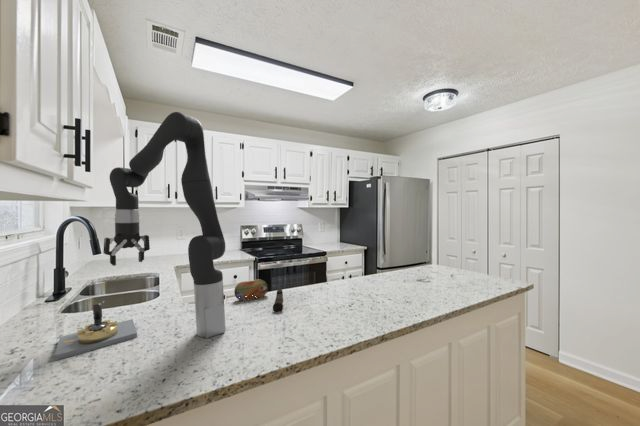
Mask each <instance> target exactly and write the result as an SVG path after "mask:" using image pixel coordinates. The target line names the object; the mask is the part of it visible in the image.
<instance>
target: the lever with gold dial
mask: <svg viewBox="0 0 640 426" xmlns="http://www.w3.org/2000/svg"><path fill="white" fill-rule="evenodd" d="M102 305H103V304H102V302H97V303H94V304H92V313H93V316H92V317H93V320H94V321H93V323H90V324H87V325H85V326H84V329H83V328H82V329H78V330H77V332H76V333H78V342H79V343H80V344H90V343H95V342H99V341H102V340H105V339H108V338H110V337H112V336H114V335H115V334H116V333H117V323H118V321H117V320H115V321H111V320H110V319H108V320H106V319H105V320H102V318H103V308H102V307H103V306H102Z"/></svg>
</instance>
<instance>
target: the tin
mask: <svg viewBox="0 0 640 426" xmlns="http://www.w3.org/2000/svg"><path fill="white" fill-rule="evenodd" d="M268 288H269V286H268V284H267V282H266V281H265V280H264V279H260V278H259V279H258V278H257V279H253V280H246V281H241V282H239V283H237V284H236V286H235V287H234V292H233V294H234V296H235V298H236V299H237V300H238V301H240V302H243V301H242V300H246V301H249V300H248V299H251V300H254V299H255V298H256V297H258V298H256V299H260V298H263V297H264V296H266V295H267V294H268V293H267V292H268ZM252 295H253V296H252ZM245 296H247V297H245ZM255 296H256V297H255ZM239 297H240V298H239ZM256 299H255V300H256Z"/></svg>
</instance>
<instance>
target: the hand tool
mask: <svg viewBox="0 0 640 426" xmlns="http://www.w3.org/2000/svg"><path fill="white" fill-rule="evenodd" d="M283 293H284V291H283V289H282V288H278V289H277V290H276V297H275V299H274V303H273V305H272V312H274V313H281V312H283V308H284V304H283V302H284V294H283Z"/></svg>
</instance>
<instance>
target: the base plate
mask: <svg viewBox="0 0 640 426" xmlns="http://www.w3.org/2000/svg"><path fill="white" fill-rule="evenodd" d="M136 338H138V331H137V329H136V326H135V323H134V320H133V319H127V320H122V321H120V322H119V321H118V322H117V333H116V334H115V335H114V336H112V337H110V338H108V339H105V340H102V341H99V342H95V343H90V344H80V343H79V342H78V333H77V332H74V333H70V334H65V335H63V336H60V337H59V339H58V343H57V346H56V348H55V352H54V355H53V361H58V360H63V359H66V358H69V357H72V356H76V355H80V354H84V353H87V352H90V351H94V350H97V349H101V348H104V347H108V346H110V345H111V346H112V345H115V344H118V343H122V342H125V341H128V340H133V339H136Z"/></svg>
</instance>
